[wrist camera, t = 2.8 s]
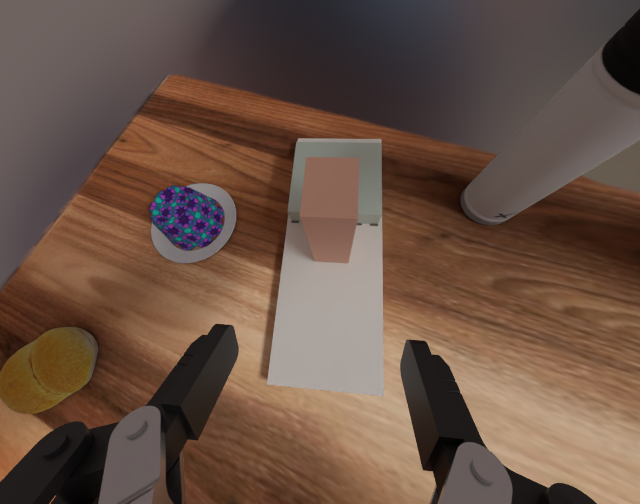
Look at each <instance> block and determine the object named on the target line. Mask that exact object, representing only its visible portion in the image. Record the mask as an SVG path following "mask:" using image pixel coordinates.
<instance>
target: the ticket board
mask: <svg viewBox="0 0 640 504" xmlns="http://www.w3.org/2000/svg"><path fill="white" fill-rule="evenodd" d="M306 157H339V158H359V191H358V220H357V225H356V230H355V234H354V239H353V244H352V249H351V253H350V258H349V263H334V262H315V260H314V257H313V254H312V252H311V249H310V246H309V243H308V240H307V237H306V234H305V231H304V228H303V225H302V222H301V219H300V209H301V200H302V191H303V181H304V172H305V163H306ZM287 212H288V221H287V229H286V237H285V245H284V253H283V261H282V269H281V276H280V284H279V292H278V300H277V308H276V316H275V324H274V332H273V340H272V348H271V356H270V363H269V371H268V379H267V384H269V385H279V386H288V387H298V388H308V389H318V390H327V391H337V392H347V393H357V394H366V395H376V396H384V388H383V270H382V151H381V139H306V138H298V142H296V149H295V157H294V164H293V172H292V180H291V188H290V195H289V203H288V211H287Z"/></svg>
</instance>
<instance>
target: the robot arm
mask: <svg viewBox="0 0 640 504" xmlns="http://www.w3.org/2000/svg"><path fill="white" fill-rule="evenodd" d="M238 350H239V348H238V343H237V339H236V335H235V330H234V327H233V326H232V325H224V324H215V325H214V326H213V327H212V329H211V330H210V332H209V333H208V335H202V336H200V337H199V338H198V339H197V340H195V341H194V342H193V343H192V344H191V345H190V346H189V348H188V349H187V351H186V352H185V353H184V356H182V357H181V359H180V360H179V362H178V363H177V365H176V366H175V367H174V368H173V370H172V371H171V372H170V374H169V375H168V377H167V378H166V379H165V381H164V382H163V383H162V385H161V386H160V388H159V389H158V390H157V392H156V393H155V394H154V396H153V397H152V399H151V400H150V401H149V402H148V404H147V405H146V406H144V407H141V408H138V409H136V410H134V411H133V412H131V413H130V414H128V415H127V416H126V417H125V418H123V419H122V420H121V421H120V422H117V423H113V424H109V425H105V426H101V427H97V428H93V429H88V428H87V427H86V426H85V424H84V423H82V422H71V423H67V424H65V425H62V426H60V427H58V428H57V429H55V430H53V431H52V432H50V433H49V434H47V435H46V436H45V437H44V438H42V439H41V440H40V441H39V442H38V443H37V444H36V445H35V446H34V447H33V448H32V449H31V450H30V451H29V452H28V453H27V454H26V455H25V456H24V458H23V459H22V460H21V461H20V462H19V463H18V464H17V465H16V466H15V467H14V468H13V469H12V470H11V471H10V472H9V473H8V475H7V476H6V477H5V478H4V479H3V480H2V481H1V482H0V504H49V503H50V502H51V500H52V499H53V498H54V496H55V495H56V497H55V498H54V500H53V501H52V502H51V504H186V495H185V479H184V463H183V451H182V449H183V447H184V445H185V443H186V441H187V439H190V440H198V439H199V437H200V435H201V433H202V431H203V429H204V426H205V424H206V422H207V420H208V418H209V416H210V414H211V412H212V410H213V408H214V406H215V404H216V401H217V399H218V397H219V395H220V393H221V391H222V389H223V387H224V385H225V383H226V381H227V378H228V376H229V374H230V372H231V370H232V368H233V366H234V364H235V362H236V359H237V356H238ZM400 370H401V377H402V382H403V386H404V390H405V395H406V399H407V403H408V408H409V412H410V416H411V421H412V425H413V429H414V434H415V438H416V442H417V447H418V451H419V455H420V460H421V464H422V468H423V470H426V471H433V474H434V477H435V481H436V486H435V489H434V492H433V495H432V498H431V500H430V503H429V504H597V503H595V502H594V501H593V500H592V499H591V498H590V497H588V496H587V495H586V494H584V493H583V492H581V491H580V490H578V489H576V488H574V487H572V486H570V485H567V484H564V483H555V484H553V485H551V486H550V487H549V488H547V487H545V486H543V485H541V484H539V483H536V482H534V481H532V480H530V479H528V478H526V477H524V476H521V475H519V474H517V473H515V472H513V471H511V470H510V469H508V468H507V467H505V466H504V465H503V464H502V463H501V462H500V461H499V459H498V458H497V457H496V456H495V455H494V454H493V453H492V452H490V451H489V450H488V449H487V447H486V446H485V444H484V443H483V441H482V439H481V437H480V435H479V432H478V430H477V428H476V426H475V423H474V421H473V419H472V417H471V414H470V412H469V410H468V408H467V406H466V403H465V401H464V399H463V397H462V394H460V390H459V388H458V385H457V383H456V382H455V379H454V376H453V374H452V372H451V370H450V367H449V366H448V365H447V364H446V363H445V361H444V360H443V359H442V358H441V357H440V356H439V355H431V352H430V349H429V347H428V344H427V343H426V341H419V340H406V343H405V347H404V351H403V355H402V359H401V364H400Z"/></svg>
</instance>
